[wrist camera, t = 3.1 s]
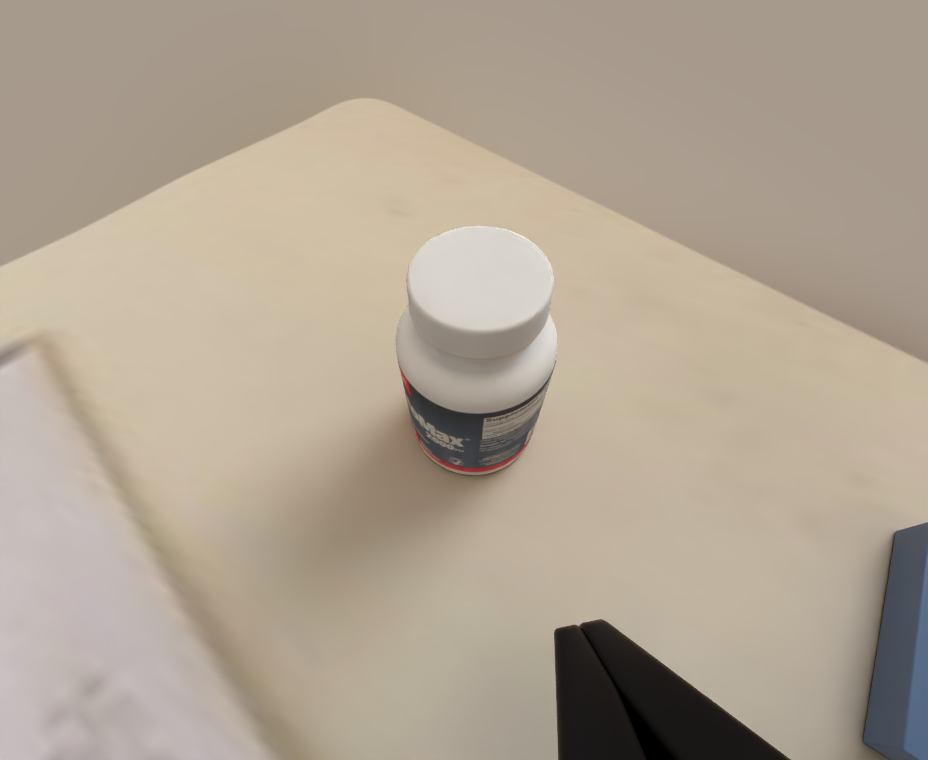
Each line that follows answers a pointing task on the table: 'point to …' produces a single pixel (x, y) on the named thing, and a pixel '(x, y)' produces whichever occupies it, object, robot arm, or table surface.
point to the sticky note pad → (902, 655)
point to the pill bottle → (476, 346)
